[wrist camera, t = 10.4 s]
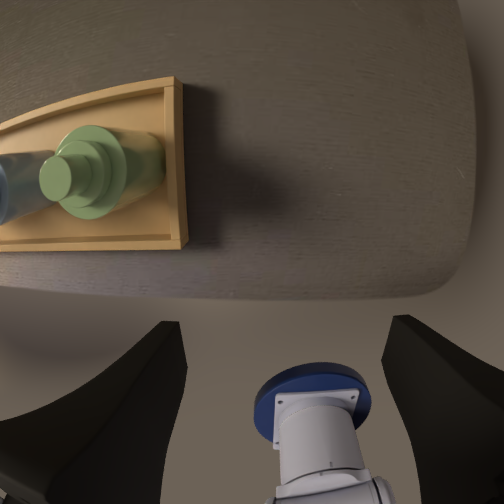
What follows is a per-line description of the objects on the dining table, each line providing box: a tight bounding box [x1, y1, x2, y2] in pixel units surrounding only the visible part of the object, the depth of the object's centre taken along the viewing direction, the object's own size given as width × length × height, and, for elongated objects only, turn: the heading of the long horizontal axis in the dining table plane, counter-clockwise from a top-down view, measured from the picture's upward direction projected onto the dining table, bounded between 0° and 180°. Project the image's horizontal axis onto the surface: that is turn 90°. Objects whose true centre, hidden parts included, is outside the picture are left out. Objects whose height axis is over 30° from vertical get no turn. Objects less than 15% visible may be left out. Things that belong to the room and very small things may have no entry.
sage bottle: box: [39, 125, 166, 220], centre depth 14 cm, size 4×4×8 cm
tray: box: [0, 76, 189, 252], centre depth 17 cm, size 10×22×2 cm, turn 91°
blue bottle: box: [0, 150, 57, 226], centre depth 14 cm, size 4×4×8 cm
